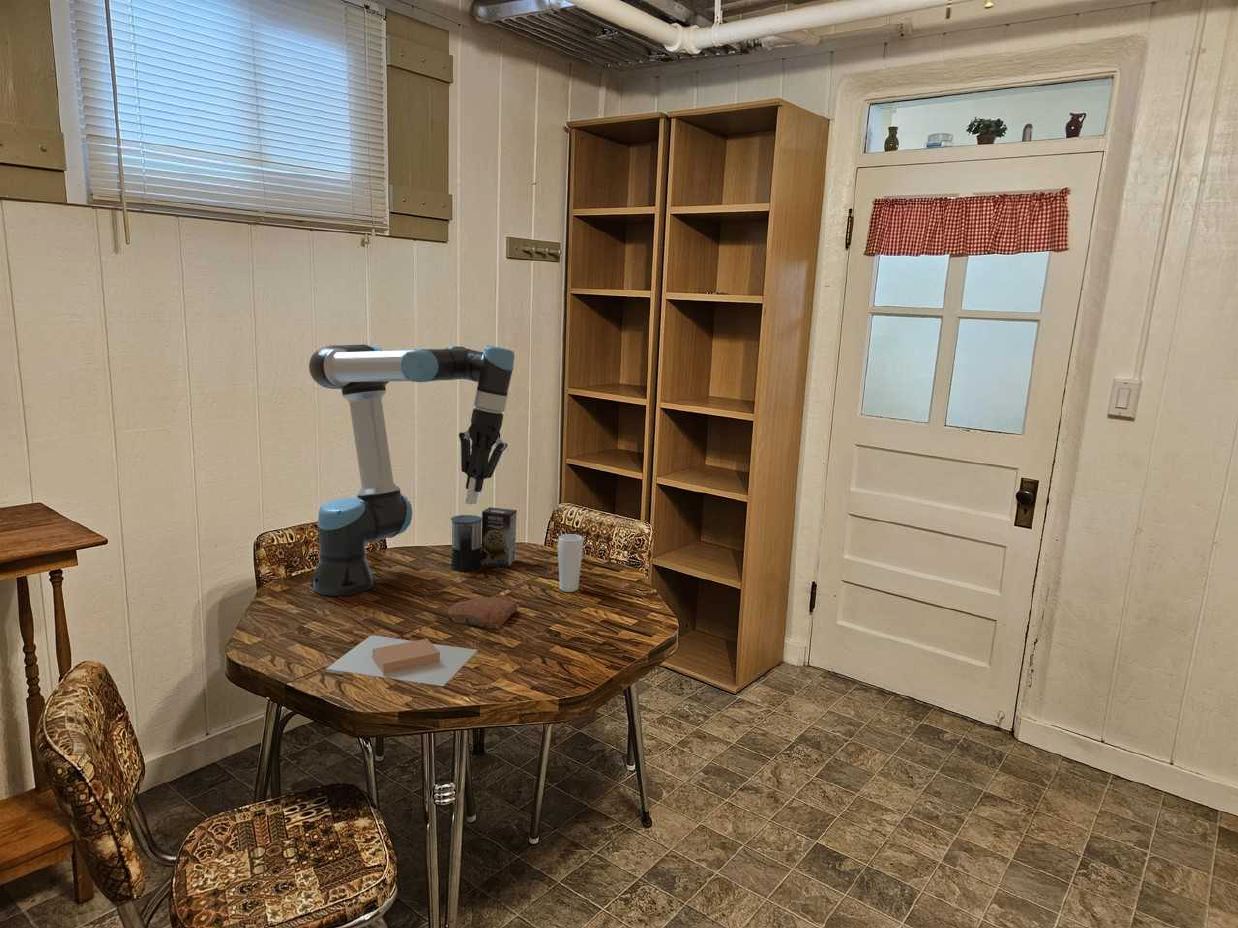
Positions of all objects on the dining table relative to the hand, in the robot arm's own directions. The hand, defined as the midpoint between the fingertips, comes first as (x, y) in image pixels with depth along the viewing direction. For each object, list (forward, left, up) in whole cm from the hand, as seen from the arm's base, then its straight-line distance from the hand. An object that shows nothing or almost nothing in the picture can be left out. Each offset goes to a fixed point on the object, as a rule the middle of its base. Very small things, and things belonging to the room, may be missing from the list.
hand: (470, 503), depth 194 cm
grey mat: (-1, -33, -28) cm, 43 cm away
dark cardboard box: (-7, +39, -28) cm, 48 cm away
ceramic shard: (+5, -4, -28) cm, 29 cm away
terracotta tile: (+4, -30, -26) cm, 39 cm away
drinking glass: (+20, +22, -28) cm, 41 cm away
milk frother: (-10, +31, -28) cm, 43 cm away
